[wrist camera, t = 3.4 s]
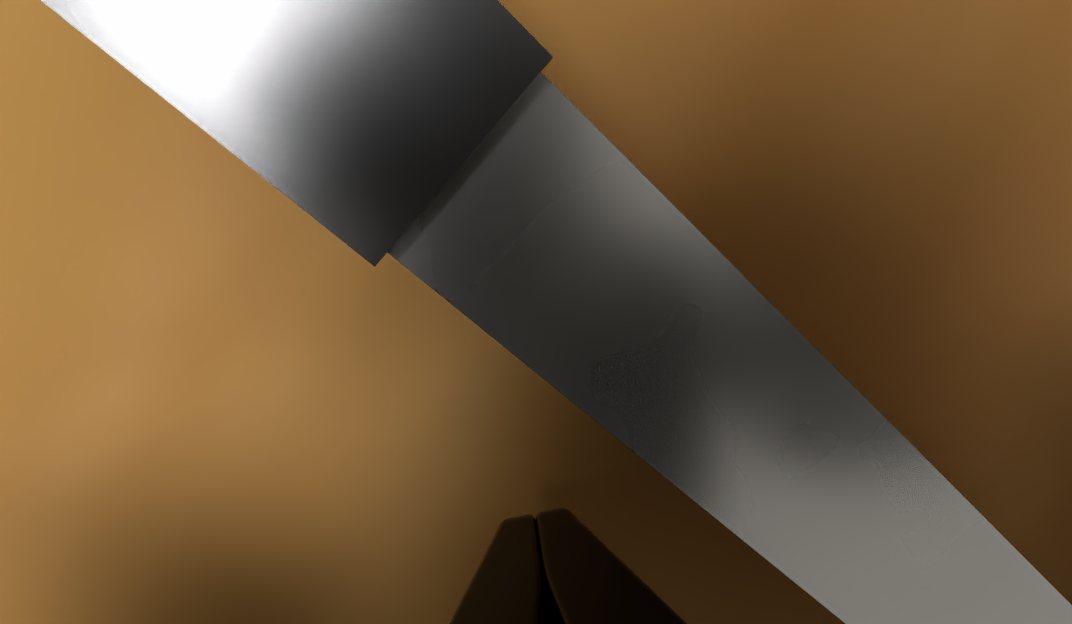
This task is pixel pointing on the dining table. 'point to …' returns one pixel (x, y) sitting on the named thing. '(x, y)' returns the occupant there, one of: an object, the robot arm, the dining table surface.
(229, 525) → the dining table surface
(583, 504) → the dining table surface
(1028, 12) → the dining table surface
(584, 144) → the tong leg
